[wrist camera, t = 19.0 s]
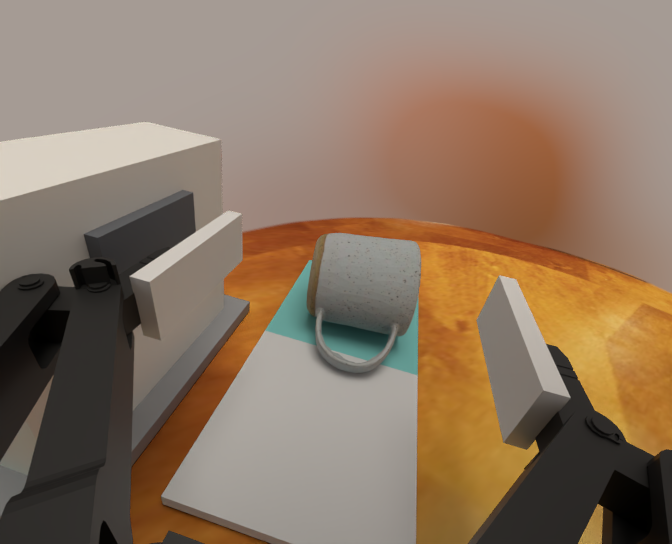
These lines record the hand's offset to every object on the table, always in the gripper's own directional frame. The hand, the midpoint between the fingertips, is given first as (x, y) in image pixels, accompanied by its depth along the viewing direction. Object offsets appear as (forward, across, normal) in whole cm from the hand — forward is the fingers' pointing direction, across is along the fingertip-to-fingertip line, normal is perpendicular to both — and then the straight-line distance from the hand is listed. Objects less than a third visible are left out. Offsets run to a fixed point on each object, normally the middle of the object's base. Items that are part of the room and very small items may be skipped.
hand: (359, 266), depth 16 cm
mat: (+4, 0, -11) cm, 11 cm away
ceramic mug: (+7, 0, -10) cm, 12 cm away
